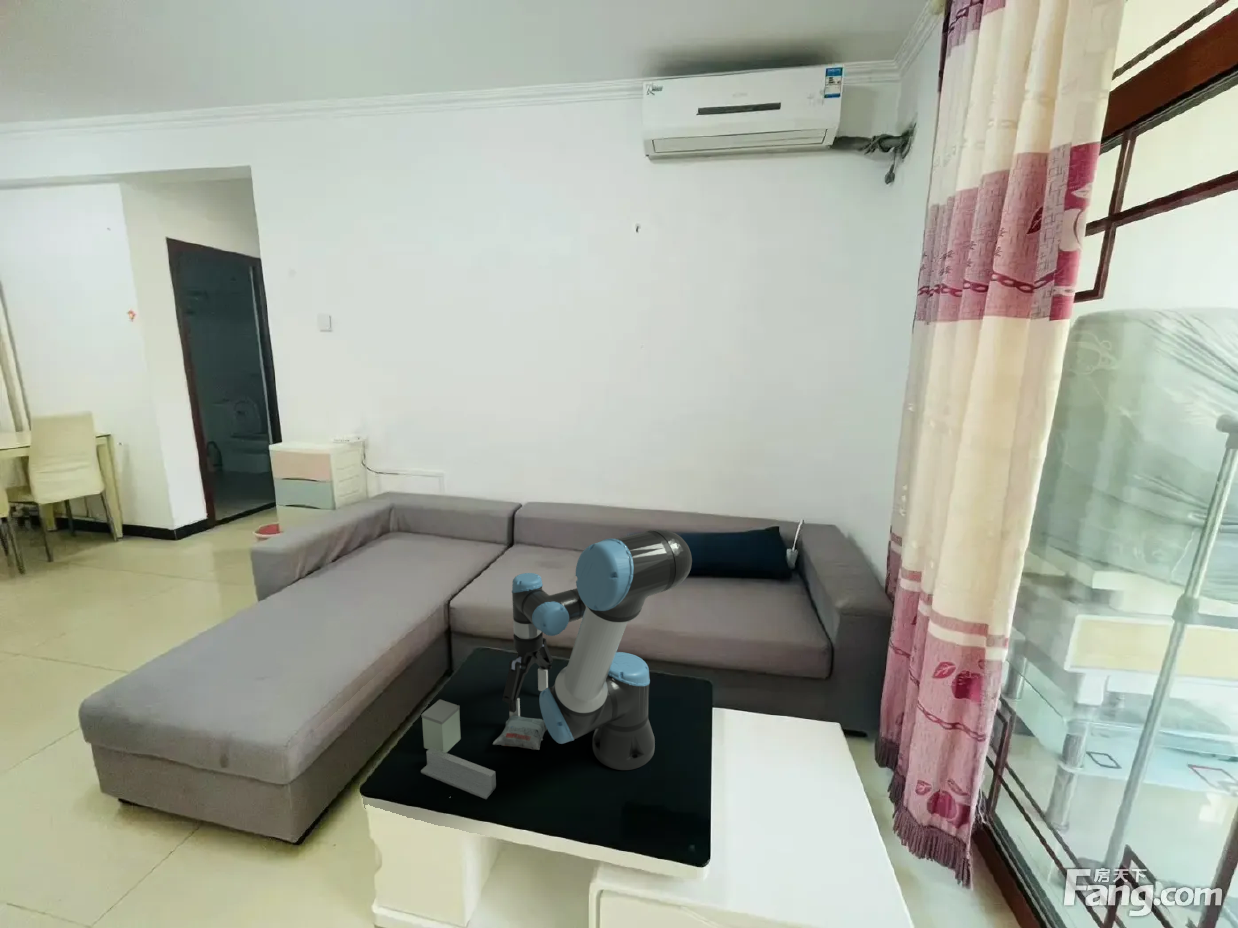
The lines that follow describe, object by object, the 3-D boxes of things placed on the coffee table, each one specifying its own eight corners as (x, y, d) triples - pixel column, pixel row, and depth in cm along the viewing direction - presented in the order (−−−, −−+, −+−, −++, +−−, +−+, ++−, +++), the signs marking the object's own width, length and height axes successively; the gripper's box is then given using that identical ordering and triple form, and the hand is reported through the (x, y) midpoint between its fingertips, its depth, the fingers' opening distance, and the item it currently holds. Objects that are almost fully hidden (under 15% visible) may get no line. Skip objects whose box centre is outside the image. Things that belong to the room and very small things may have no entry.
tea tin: (461, 738, 127) (459, 705, 125) (443, 755, 121) (441, 721, 120) (441, 731, 129) (439, 699, 128) (423, 748, 124) (421, 714, 122)
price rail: (497, 785, 113) (496, 770, 112) (486, 799, 109) (485, 783, 109) (433, 761, 120) (432, 746, 119) (421, 772, 116) (419, 757, 115)
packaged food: (539, 757, 121) (539, 739, 120) (492, 750, 123) (491, 732, 122) (551, 732, 129) (550, 715, 128) (506, 726, 131) (506, 709, 130)
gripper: (541, 608, 146) (542, 676, 150) (486, 652, 123) (489, 730, 127) (564, 614, 143) (564, 682, 147) (511, 660, 120) (514, 739, 124)
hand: (529, 705), depth 137 cm, fingers open, 13 cm apart
